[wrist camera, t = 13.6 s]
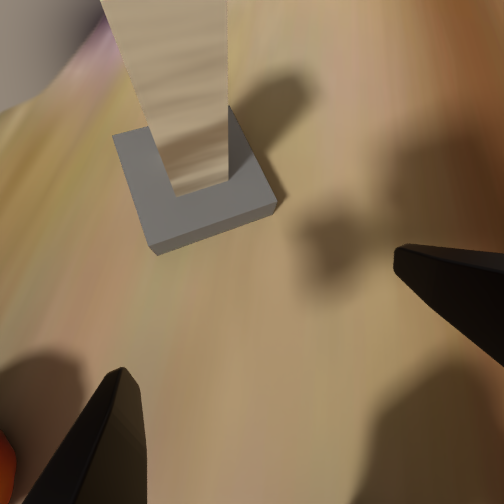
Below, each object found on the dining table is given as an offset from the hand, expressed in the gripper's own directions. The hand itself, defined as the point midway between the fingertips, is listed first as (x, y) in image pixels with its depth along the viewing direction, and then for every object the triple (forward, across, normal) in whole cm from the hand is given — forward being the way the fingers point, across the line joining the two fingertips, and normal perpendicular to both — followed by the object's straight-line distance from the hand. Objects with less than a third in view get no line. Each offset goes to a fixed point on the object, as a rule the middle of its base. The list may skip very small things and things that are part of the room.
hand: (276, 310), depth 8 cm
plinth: (+19, -1, 0) cm, 19 cm away
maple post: (+18, -1, -2) cm, 18 cm away
